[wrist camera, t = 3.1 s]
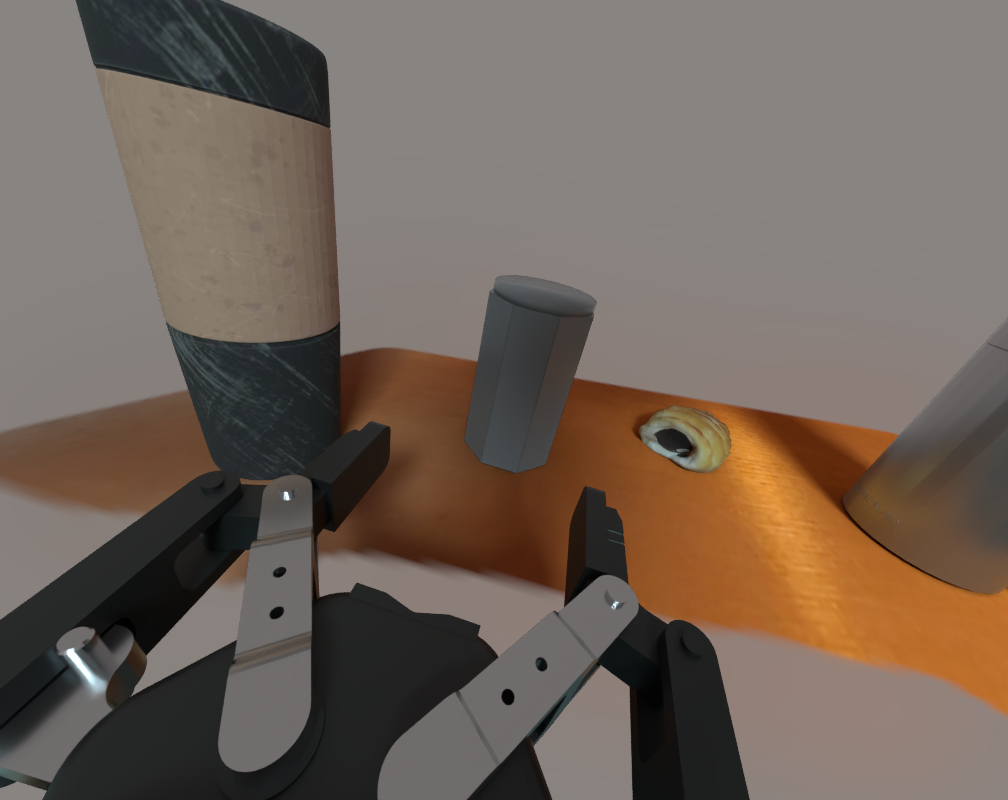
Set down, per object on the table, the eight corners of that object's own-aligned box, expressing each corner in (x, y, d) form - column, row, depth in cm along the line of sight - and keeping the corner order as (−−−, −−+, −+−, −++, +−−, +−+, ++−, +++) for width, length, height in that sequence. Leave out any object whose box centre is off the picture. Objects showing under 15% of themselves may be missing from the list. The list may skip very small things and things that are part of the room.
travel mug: (366, 452, 24) (365, 60, 14) (228, 505, 19) (71, -68, 9) (315, 400, 28) (287, 65, 18) (190, 431, 23) (52, -21, 13)
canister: (551, 432, 30) (596, 292, 24) (542, 481, 25) (597, 315, 19) (480, 411, 31) (507, 270, 25) (456, 454, 25) (482, 286, 20)
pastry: (674, 415, 38) (690, 385, 36) (739, 452, 34) (761, 419, 32) (629, 440, 32) (646, 405, 30) (701, 487, 28) (725, 450, 26)
